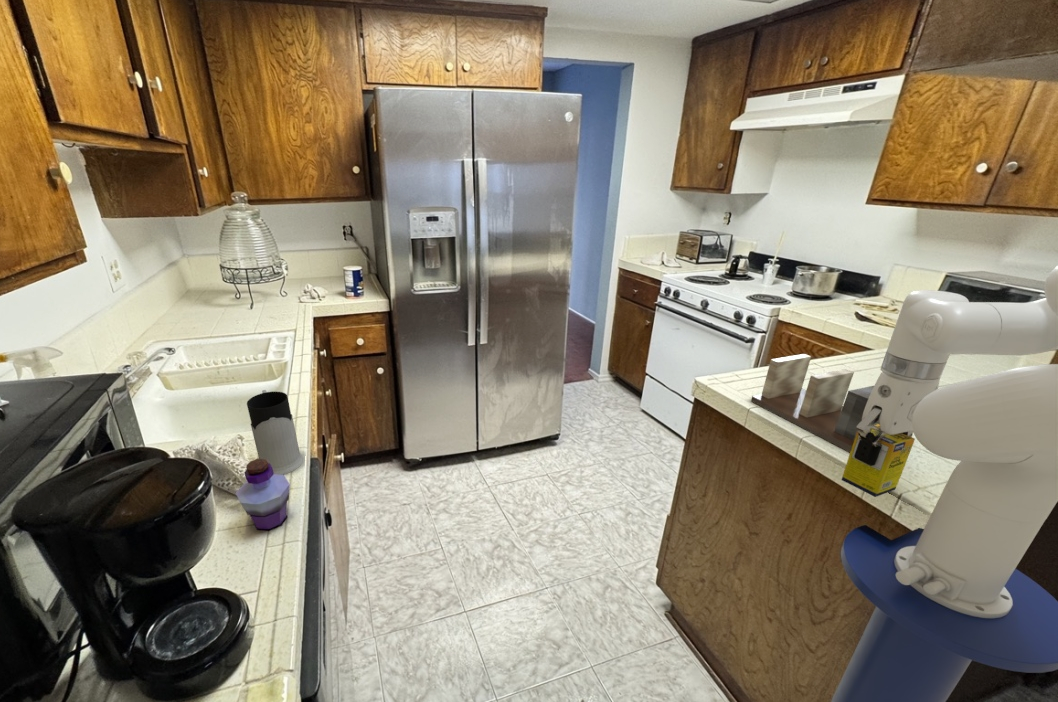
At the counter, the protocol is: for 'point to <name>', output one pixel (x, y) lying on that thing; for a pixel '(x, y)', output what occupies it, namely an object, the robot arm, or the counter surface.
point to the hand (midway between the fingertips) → (877, 457)
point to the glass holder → (274, 431)
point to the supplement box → (879, 465)
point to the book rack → (814, 399)
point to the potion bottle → (264, 495)
